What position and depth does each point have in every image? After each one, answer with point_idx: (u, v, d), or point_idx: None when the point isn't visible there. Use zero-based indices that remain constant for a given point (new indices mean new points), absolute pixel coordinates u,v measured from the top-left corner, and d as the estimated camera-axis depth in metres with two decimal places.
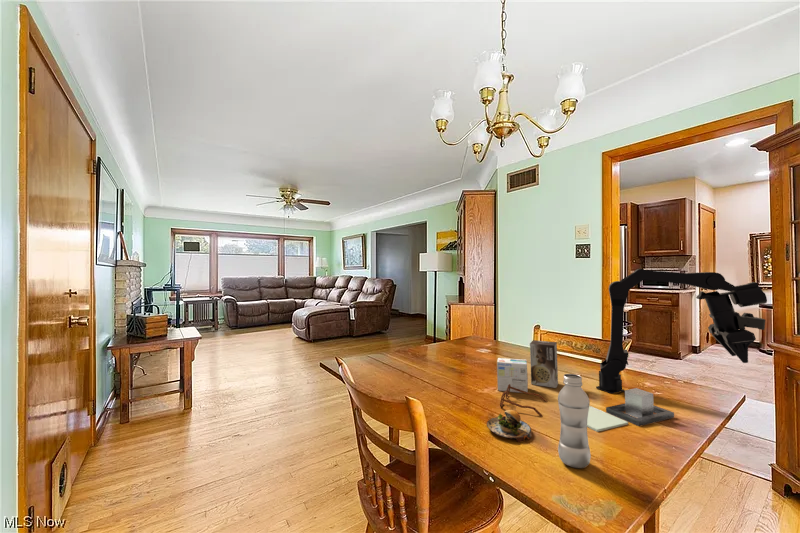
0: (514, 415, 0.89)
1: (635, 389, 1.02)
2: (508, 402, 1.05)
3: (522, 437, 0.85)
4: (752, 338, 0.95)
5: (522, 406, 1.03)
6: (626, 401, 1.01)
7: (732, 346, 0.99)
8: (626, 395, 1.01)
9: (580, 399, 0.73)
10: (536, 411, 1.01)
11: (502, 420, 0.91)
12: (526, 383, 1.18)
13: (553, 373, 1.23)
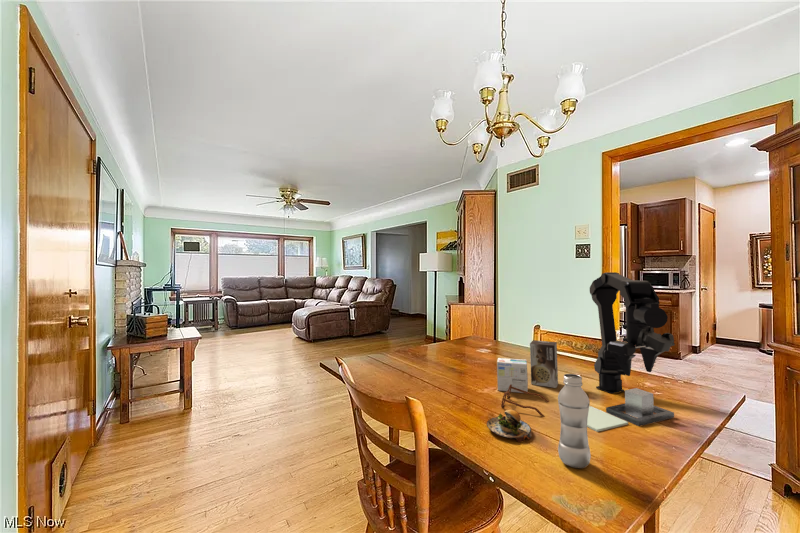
0: (514, 415, 0.89)
1: (635, 389, 1.02)
2: (509, 402, 1.05)
3: (522, 437, 0.85)
4: (623, 352, 0.95)
5: (523, 406, 1.02)
6: (626, 401, 1.01)
7: (616, 355, 1.00)
8: (626, 395, 1.01)
9: (580, 399, 0.73)
10: (538, 411, 1.00)
11: (502, 420, 0.91)
12: (526, 383, 1.18)
13: (553, 373, 1.23)
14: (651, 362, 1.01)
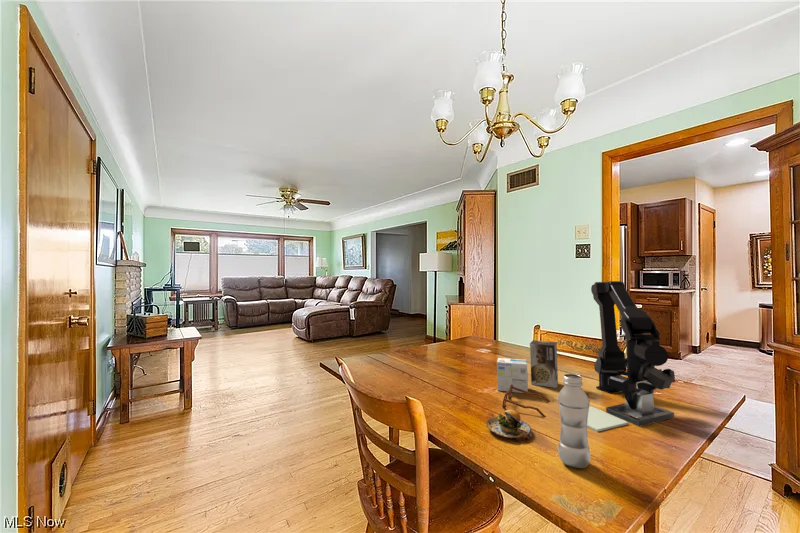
0: (514, 415, 0.89)
1: None
2: (511, 402, 1.04)
3: (522, 437, 0.85)
4: (623, 388, 0.95)
5: (525, 406, 1.02)
6: (626, 401, 1.01)
7: (621, 389, 1.00)
8: None
9: (580, 399, 0.73)
10: (539, 411, 1.00)
11: (502, 420, 0.91)
12: (526, 383, 1.18)
13: (553, 373, 1.23)
14: None
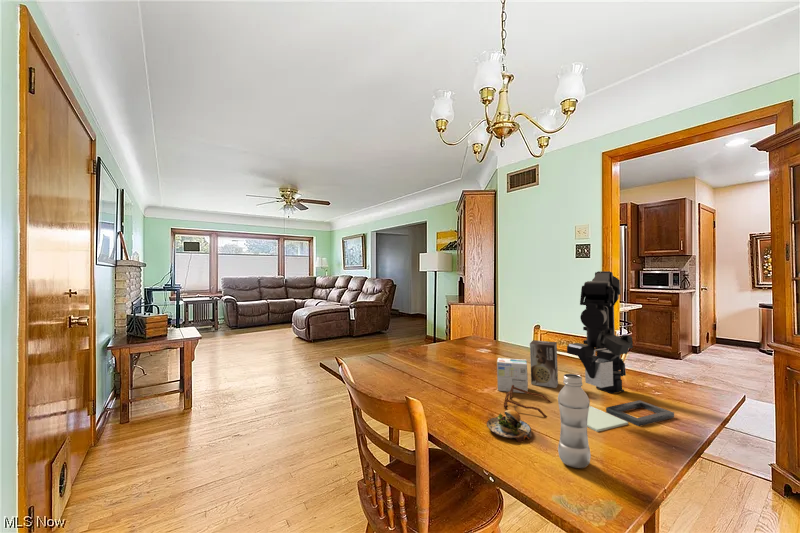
0: (514, 415, 0.89)
1: None
2: (512, 403, 1.04)
3: (522, 437, 0.85)
4: (581, 354, 0.92)
5: (526, 407, 1.02)
6: None
7: (581, 358, 0.98)
8: None
9: (580, 399, 0.73)
10: (540, 412, 1.00)
11: (502, 420, 0.91)
12: (526, 383, 1.18)
13: (553, 373, 1.23)
14: None
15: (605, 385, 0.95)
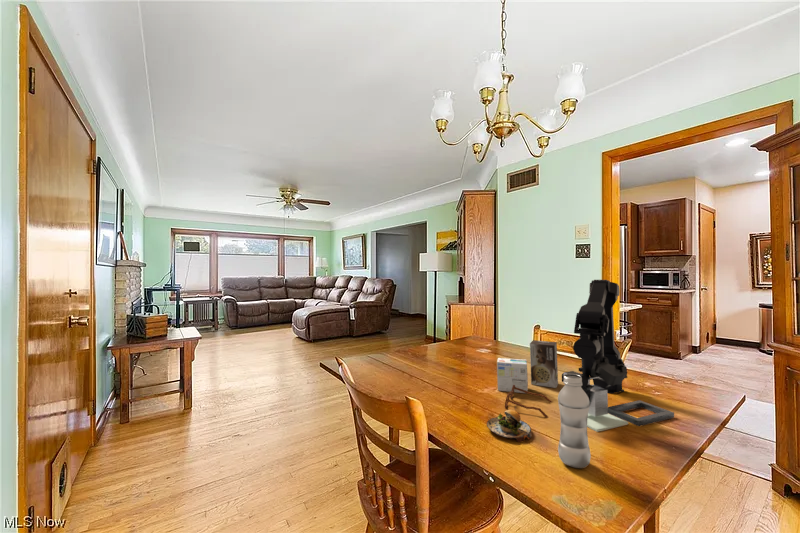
0: (514, 415, 0.89)
1: None
2: (513, 403, 1.04)
3: (522, 437, 0.85)
4: None
5: (527, 407, 1.02)
6: None
7: None
8: None
9: (580, 399, 0.73)
10: (541, 412, 1.00)
11: (502, 420, 0.91)
12: (526, 383, 1.18)
13: (553, 373, 1.23)
14: None
15: (600, 414, 0.95)
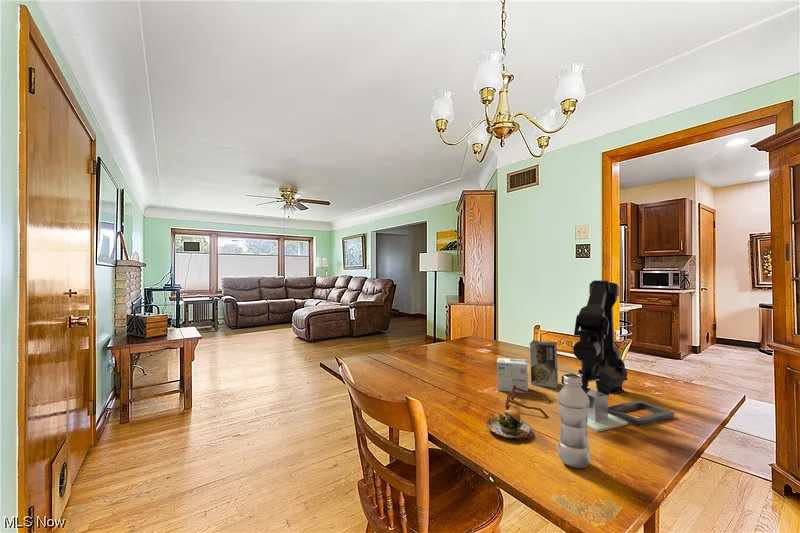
0: (514, 415, 0.89)
1: (591, 390, 1.00)
2: (514, 403, 1.04)
3: (522, 437, 0.85)
4: None
5: (528, 407, 1.02)
6: None
7: None
8: None
9: (580, 399, 0.73)
10: (542, 412, 1.00)
11: (502, 420, 0.91)
12: (526, 383, 1.18)
13: (553, 373, 1.23)
14: None
15: (600, 419, 0.95)
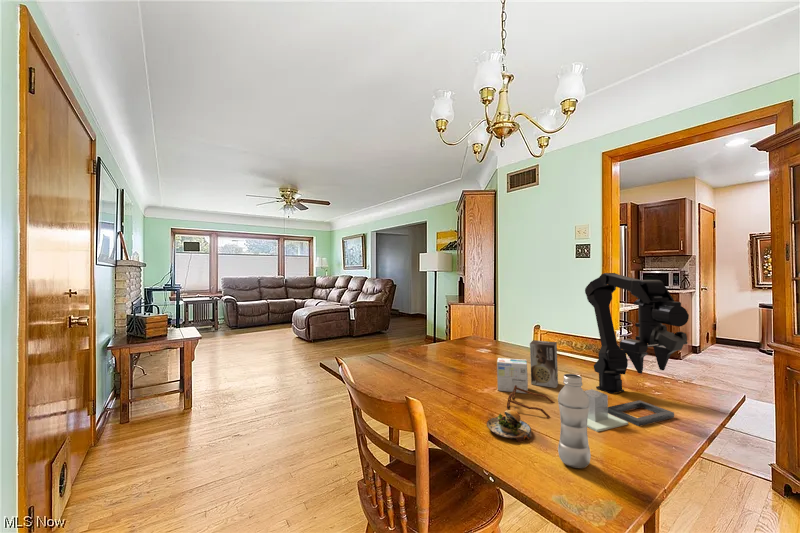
0: (514, 415, 0.89)
1: (591, 390, 1.00)
2: (515, 403, 1.04)
3: (522, 437, 0.85)
4: (635, 350, 0.96)
5: (529, 407, 1.02)
6: None
7: (628, 353, 1.01)
8: None
9: (580, 399, 0.73)
10: (544, 412, 1.00)
11: (502, 420, 0.91)
12: (526, 383, 1.18)
13: (553, 373, 1.23)
14: (664, 360, 1.02)
15: (600, 419, 0.95)
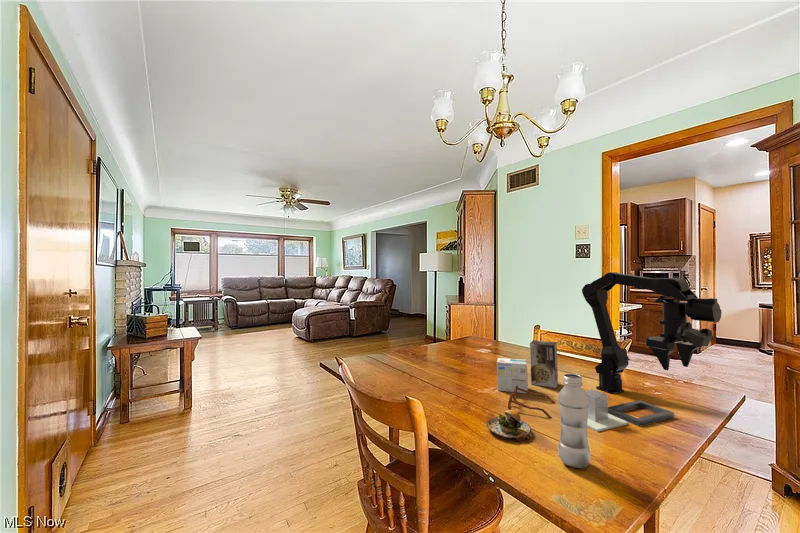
0: (514, 415, 0.89)
1: (591, 390, 1.00)
2: (516, 403, 1.04)
3: (522, 437, 0.85)
4: (663, 347, 0.98)
5: (530, 408, 1.01)
6: None
7: (654, 350, 1.02)
8: None
9: (580, 399, 0.73)
10: (545, 413, 0.99)
11: (502, 420, 0.91)
12: (526, 383, 1.18)
13: (553, 373, 1.23)
14: (688, 357, 1.04)
15: (600, 419, 0.95)
